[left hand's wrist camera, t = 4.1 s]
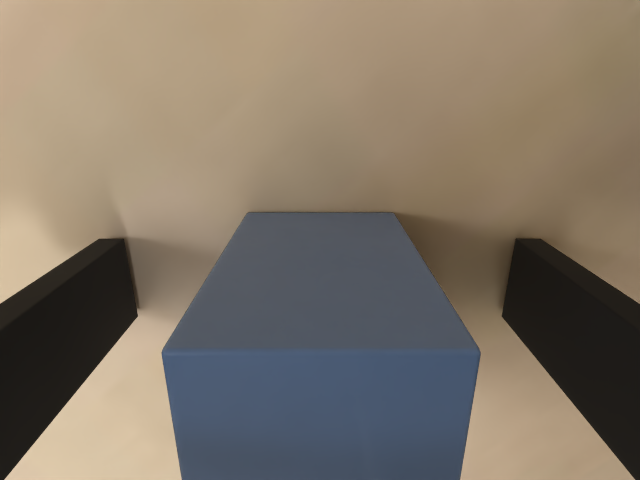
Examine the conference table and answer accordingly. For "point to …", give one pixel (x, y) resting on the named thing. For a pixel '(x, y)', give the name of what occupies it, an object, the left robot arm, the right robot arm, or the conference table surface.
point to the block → (320, 357)
